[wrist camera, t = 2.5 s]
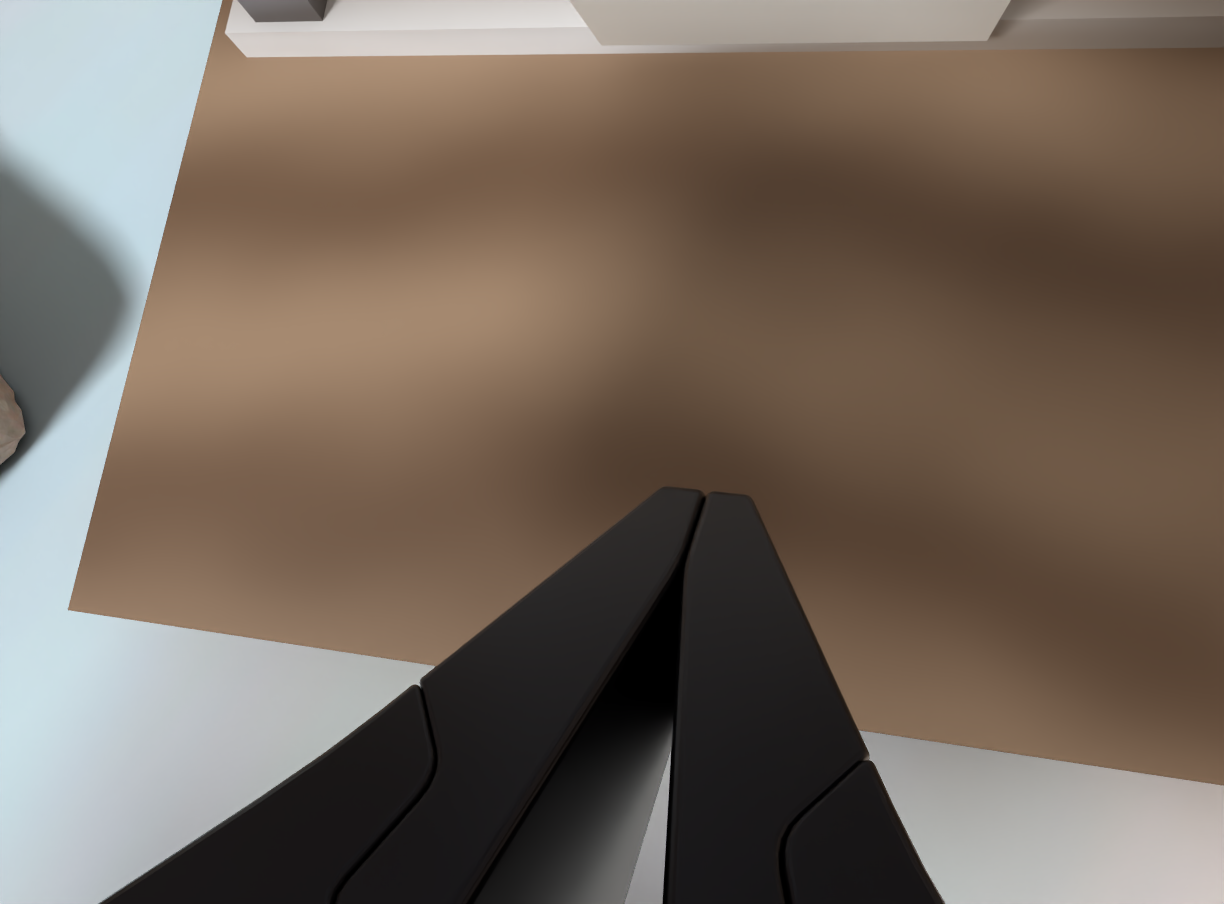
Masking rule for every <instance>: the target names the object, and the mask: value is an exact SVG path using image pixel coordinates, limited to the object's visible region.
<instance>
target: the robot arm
mask: <svg viewBox="0 0 1224 904" xmlns="http://www.w3.org/2000/svg"><path fill="white" fill-rule="evenodd" d="M420 687H421V688H420ZM420 687H419V686H418V685H412V686H411V687H409V688H408V689H407V690H406V691H404V692H403V693H402V694H401V695H399V696H398V697H397V698H396V699H394V700H393V701H392V702H391V703H389V704H388V705H387V706H386V707H384V708H383V709H382V710H380V711H379V712H378V713H377V714H375V715H374V716H373V717H371V718H370V719H369V720H367V721H366V722H365V723H363V724H362V725H361V726H359V727H358V728H357V729H355V730H354V731H353V732H352V733H350V734H349V735H348V736H346V737H345V738H344V739H342V740H341V741H340V742H338V743H337V744H336V745H334V746H333V747H332V748H330V749H329V750H328V751H326V752H325V753H324V754H322V755H321V756H319V757H318V758H316V759H315V760H313V761H312V762H311V763H309V764H308V765H306V766H305V767H303V768H302V769H300V770H299V771H297V772H296V773H295V774H293V775H292V776H290V777H289V778H287V779H286V780H284V781H283V782H282V783H280V784H279V785H277V786H276V787H274V788H273V789H271V790H270V791H268V792H267V793H266V794H264V795H263V796H261V797H260V798H258V799H257V800H255V801H254V802H252V803H251V804H249V805H248V806H246V807H245V808H243V809H241V810H240V811H238V812H237V813H235V814H234V815H232V816H231V817H229V818H228V819H226V820H225V821H223V822H222V823H220V824H219V825H217V826H216V827H214V828H213V829H211V830H210V831H208V832H206V833H205V834H203V835H202V836H200V837H199V838H197V839H196V840H194V841H193V842H191V843H190V844H188V845H187V846H185V847H184V848H182V849H181V850H179V851H178V852H176V853H175V854H173V855H171V856H170V857H168V858H167V859H165V860H164V861H162V862H161V863H159V864H158V865H156V866H155V867H153V868H152V869H150V870H149V871H147V872H146V873H144V874H143V875H141V876H140V877H138V878H137V879H135V880H133V881H132V882H130V883H129V884H127V885H126V886H124V887H123V888H121V889H120V890H118V891H117V892H115V893H114V894H112V895H111V896H109V897H108V898H106V899H105V900H103V901H102V902H100V903H98V904H624V902H625V899H626V895H627V892H628V889H629V886H630V882H631V879H632V876H633V872H634V869H635V866H636V862H637V859H638V856H639V853H640V849H641V846H642V843H643V839H644V836H645V833H646V830H647V826H648V823H649V820H650V816H651V813H652V810H653V806H654V803H655V800H656V797H657V793H658V790H659V787H660V783H661V780H662V777H663V773H664V770H665V767H666V764H667V760H668V757H669V754H670V750H671V766H670V783H669V801H668V819H667V836H666V854H665V872H664V889H663V904H945V902H944V901H943V899H942V897H941V895H940V894H939V892H938V890H937V889H936V887H935V885H934V883H933V882H932V880H931V878H930V876H929V875H928V873H927V871H926V870H925V868H924V866H923V864H922V862H921V860H920V858H919V856H918V854H917V852H916V850H915V848H914V846H913V844H912V842H911V840H910V838H909V836H908V834H907V832H906V830H905V828H904V826H903V824H902V822H901V820H900V818H899V816H898V814H897V812H896V810H895V808H894V806H893V804H892V801H891V799H890V797H889V795H888V793H887V790H886V788H885V786H884V784H883V782H882V779H881V777H880V775H879V773H878V771H877V769H876V766H875V764H874V763H873V762H872V761H870V760H869V752H868V750H867V748H866V746H865V743H864V741H863V739H862V737H861V735H860V732H859V730H858V728H857V726H856V724H855V722H854V719H853V717H852V715H851V713H850V711H849V708H848V706H847V704H846V702H845V700H844V697H843V695H842V693H841V691H840V689H839V687H838V684H837V682H836V680H835V678H834V676H833V673H832V671H831V669H830V667H829V665H828V662H827V660H826V658H825V656H824V654H823V651H822V649H821V647H820V645H819V643H818V641H817V638H816V636H815V634H814V632H813V630H812V627H811V625H810V623H809V621H808V619H807V616H806V614H805V612H804V610H803V608H802V605H801V603H800V601H799V599H798V597H797V595H796V592H795V590H794V588H793V586H792V584H791V581H790V579H789V577H788V575H787V573H786V570H785V568H784V566H783V564H782V562H781V560H780V557H779V555H778V553H777V551H776V549H775V546H774V544H773V542H772V540H771V538H770V535H769V533H768V531H767V529H766V527H765V524H764V522H763V520H762V518H761V516H760V514H759V511H758V509H757V507H756V505H755V503H754V501H753V499H752V498H751V497H750V496H749V495H746V494H738V493H728V492H718V491H712V492H710V493H708V494H707V495H706V496H705V494H704V492H703V491H701V490H699V489H690V488H681V487H672V486H664V487H661V488H659V489H658V490H657V491H655V492H654V493H653V494H652V495H650V496H649V497H648V498H646V499H645V500H644V501H643V502H641V503H640V504H639V505H638V506H636V507H635V508H634V509H633V510H631V511H630V512H629V513H628V514H626V515H625V516H624V517H623V518H621V519H620V520H619V521H618V522H616V523H615V524H614V525H613V526H611V527H610V528H609V529H608V530H606V531H605V532H604V533H603V534H601V535H600V536H599V537H598V538H596V539H595V540H594V541H593V542H591V543H590V544H589V545H588V546H586V547H585V548H584V549H583V550H581V551H580V552H579V553H578V554H576V555H575V556H574V557H573V558H571V559H570V560H569V561H568V562H566V563H565V564H564V565H563V566H561V567H560V568H559V569H558V570H556V571H555V572H554V573H553V574H551V575H550V576H549V577H548V578H546V579H545V580H544V581H543V582H541V583H540V584H539V585H538V586H536V587H535V588H534V589H533V590H531V591H530V592H529V593H528V594H526V595H525V596H524V597H523V598H521V599H520V600H519V601H518V602H516V603H515V604H514V605H513V606H511V607H510V608H509V609H508V610H506V611H505V612H504V613H503V614H501V615H500V616H499V617H498V618H496V619H495V620H494V621H493V622H491V623H490V624H489V625H487V626H486V627H485V628H484V629H482V630H481V631H480V632H479V633H477V634H476V635H475V636H474V637H472V638H471V639H470V640H469V641H467V642H466V643H465V644H464V645H462V646H461V647H460V648H459V649H457V650H456V651H455V652H454V653H452V654H451V655H450V656H449V657H447V658H446V659H445V660H444V661H442V662H441V663H440V664H439V665H437V666H436V667H435V668H434V669H432V670H431V671H430V672H429V673H427V674H426V675H425V676H424V677H422V678H421V680H420ZM671 747H672V748H671Z"/></svg>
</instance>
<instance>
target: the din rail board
mask: <svg viewBox="0 0 1224 904" xmlns="http://www.w3.org/2000/svg"><path fill="white" fill-rule="evenodd" d="M664 486H672V487H681V488H690V489H699V490H701V491H703V492H704V494H705V496H706V495H707V494H708V493H710V492H712V491H718V492H728V493H738V494H746V495H749V496H750V497H751V498H752V499H753V501H754V503H755V505H756V507H757V509H758V511H759V514H760V516H761V518H762V520H763V522H764V524H765V527H766V529H767V531H768V533H769V535H770V538H771V540H772V542H773V544H774V546H775V549H776V551H777V553H778V555H779V557H780V560H781V562H782V564H783V566H784V568H785V570H786V573H787V575H788V577H789V579H790V581H791V584H792V586H793V588H794V590H795V592H796V595H797V597H798V599H799V601H800V603H801V605H802V608H803V610H804V612H805V614H806V616H807V619H808V621H809V623H810V625H811V627H812V630H813V632H814V634H815V636H816V638H817V641H818V643H819V645H820V647H821V649H822V651H823V654H824V656H825V658H826V660H827V662H828V665H829V667H830V669H831V671H832V673H833V676H834V678H835V680H836V682H837V684H838V687H839V689H840V691H841V693H842V695H843V697H844V700H845V702H846V704H847V706H848V708H849V711H850V713H851V715H852V717H853V719H854V722H855V724H856V726H857V728H858V730H862V731H868V732H875V733H882V734H888V735H895V736H901V737H908V738H914V739H921V740H928V741H934V742H941V743H947V744H954V745H961V746H967V747H974V748H980V749H987V750H993V751H1000V752H1007V753H1013V754H1020V755H1026V756H1033V757H1040V758H1046V759H1053V760H1059V761H1066V762H1073V763H1079V764H1086V765H1092V766H1099V767H1105V768H1112V769H1119V770H1125V771H1132V772H1138V773H1145V774H1152V775H1158V776H1165V777H1171V778H1178V779H1185V780H1191V781H1198V782H1204V783H1211V784H1217V785H1224V0H1011V1H1010V3H1009V4H1008V6H1007V8H1006V9H1005V11H1004V13H1003V14H1002V16H1001V18H1000V19H999V21H998V23H997V25H996V26H995V28H994V30H993V31H992V33H991V35H990V36H989V38H988V40H987V41H941V42H859V43H776V44H694V45H611V46H601V44H600V43H599V42H598V40H597V39H596V37H595V36H594V34H593V33H592V32H591V30H590V29H589V27H588V26H587V25H586V23H585V22H584V20H583V19H582V18H581V16H580V15H579V13H578V12H577V11H576V9H575V8H574V6H573V5H572V4H571V2H570V1H569V0H223V1H222V5H221V9H220V12H219V16H218V20H217V24H216V28H215V32H214V36H213V40H212V44H211V48H210V52H209V56H208V60H207V64H206V68H205V72H204V76H203V79H202V83H201V87H200V91H199V95H198V99H197V103H196V107H195V111H194V115H193V119H192V123H191V127H190V131H189V135H188V139H187V143H186V146H185V150H184V154H183V158H182V162H181V166H180V170H179V174H178V178H177V182H176V186H175V190H174V194H173V198H172V202H171V206H170V209H169V213H168V217H167V221H166V225H165V229H164V233H163V237H162V241H161V245H160V249H159V253H158V257H157V261H156V265H155V269H154V273H153V276H152V280H151V284H150V288H149V292H148V296H147V300H146V304H145V308H144V312H143V316H142V320H141V324H140V328H139V332H138V336H137V340H136V343H135V347H134V351H133V355H132V359H131V363H130V367H129V371H128V375H127V379H126V383H125V387H124V391H123V395H122V399H121V403H120V407H119V410H118V414H117V418H116V422H115V426H114V430H113V434H112V438H111V442H110V446H109V450H108V454H107V458H106V462H105V466H104V470H103V474H102V477H101V481H100V485H99V489H98V493H97V497H96V501H95V505H94V509H93V513H92V517H91V521H90V525H89V529H88V533H87V537H86V540H85V544H84V548H83V552H82V556H81V560H80V564H79V568H78V572H77V576H76V580H75V584H74V588H73V592H72V596H71V600H70V604H69V607H68V610H71V611H78V612H84V613H91V614H98V615H104V616H111V617H117V618H124V619H130V620H137V621H144V622H150V623H157V624H163V625H170V626H177V627H183V628H190V629H196V630H203V631H210V632H216V633H223V634H229V635H236V636H242V637H249V638H256V639H262V640H269V641H275V642H282V643H289V644H295V645H302V646H308V647H315V648H322V649H328V650H335V651H341V652H348V653H354V654H361V655H368V656H374V657H381V658H387V659H394V660H401V661H407V662H414V663H420V664H427V665H434V666H437V665H439V664H440V663H441V662H442V661H444V660H445V659H446V658H447V657H449V656H450V655H451V654H452V653H454V652H455V651H456V650H457V649H459V648H460V647H461V646H462V645H464V644H465V643H466V642H467V641H469V640H470V639H471V638H472V637H474V636H475V635H476V634H477V633H479V632H480V631H481V630H482V629H484V628H485V627H486V626H487V625H489V624H490V623H491V622H493V621H494V620H495V619H496V618H498V617H499V616H500V615H501V614H503V613H504V612H505V611H506V610H508V609H509V608H510V607H511V606H513V605H514V604H515V603H516V602H518V601H519V600H520V599H521V598H523V597H524V596H525V595H526V594H528V593H529V592H530V591H531V590H533V589H534V588H535V587H536V586H538V585H539V584H540V583H541V582H543V581H544V580H545V579H546V578H548V577H549V576H550V575H551V574H553V573H554V572H555V571H556V570H558V569H559V568H560V567H561V566H563V565H564V564H565V563H566V562H568V561H569V560H570V559H571V558H573V557H574V556H575V555H576V554H578V553H579V552H580V551H581V550H583V549H584V548H585V547H586V546H588V545H589V544H590V543H591V542H593V541H594V540H595V539H596V538H598V537H599V536H600V535H601V534H603V533H604V532H605V531H606V530H608V529H609V528H610V527H611V526H613V525H614V524H615V523H616V522H618V521H619V520H620V519H621V518H623V517H624V516H625V515H626V514H628V513H629V512H630V511H631V510H633V509H634V508H635V507H636V506H638V505H639V504H640V503H641V502H643V501H644V500H645V499H646V498H648V497H649V496H650V495H652V494H653V493H654V492H655V491H657V490H658V489H659V488H661V487H664Z"/></svg>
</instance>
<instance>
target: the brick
mask: <svg viewBox="0 0 1224 904" xmlns="http://www.w3.org/2000/svg"><path fill="white" fill-rule="evenodd" d="M25 433H26V432H25V426H24V421H23V416H22V410H21V409H20V407H19V406H18V405H17V403H16V402H15V397H14V391H13V390H12V389H11V388H10V386H9V385H8V384H7V383H6V382H5V380H4V379H3V378H2V376H1V375H0V465H1V464H2V463H3V462H4V461H5V460H6V459H7V458H9V457H10V456H11V455H12V454H13V453H15V450H16V447H17V445H18V442H19V440H20V439H21V438H22V437H23V435H24V434H25Z"/></svg>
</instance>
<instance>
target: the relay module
mask: <svg viewBox="0 0 1224 904" xmlns="http://www.w3.org/2000/svg"><path fill="white" fill-rule="evenodd" d="M569 1H570V2H571V4H572V5H573V6H574V8H575V9H576V11H577V12H578V13H579V15H580V16H581V18H582V19H583V20H584V22H585V23H586V25H587V26H588V27H589V29H590V30H591V32H592V33H593V34H594V36H595V37H596V39H597V40H598V42H599V43H600V44H601V46H611V45H694V44H776V43H859V42H941V41H987V40H988V38H989V36H990V35H991V33H992V31H993V30H994V28H995V26H996V25H997V23H998V21H999V19H1000V18H1001V16H1002V14H1003V13H1004V11H1005V9H1006V8H1007V6H1008V4H1009V3H1010V1H1011V0H569Z"/></svg>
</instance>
